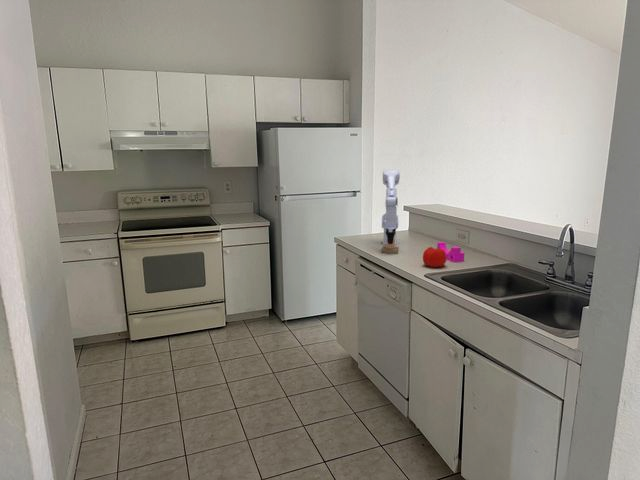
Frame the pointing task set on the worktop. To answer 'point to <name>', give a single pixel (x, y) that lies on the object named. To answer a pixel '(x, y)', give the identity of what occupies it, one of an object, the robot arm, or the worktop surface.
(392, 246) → the terracotta block
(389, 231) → the robot arm
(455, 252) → the toy block
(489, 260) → the worktop surface
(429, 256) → the tomato
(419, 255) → the worktop surface
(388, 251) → the walnut block
